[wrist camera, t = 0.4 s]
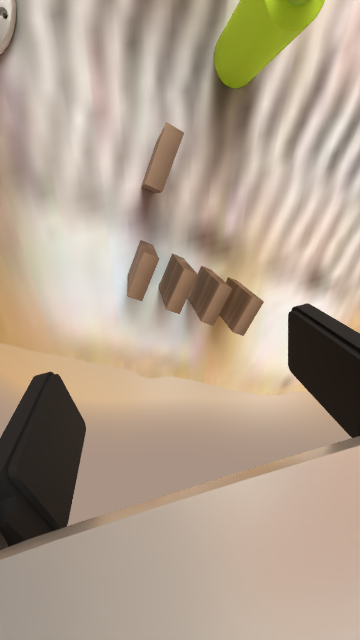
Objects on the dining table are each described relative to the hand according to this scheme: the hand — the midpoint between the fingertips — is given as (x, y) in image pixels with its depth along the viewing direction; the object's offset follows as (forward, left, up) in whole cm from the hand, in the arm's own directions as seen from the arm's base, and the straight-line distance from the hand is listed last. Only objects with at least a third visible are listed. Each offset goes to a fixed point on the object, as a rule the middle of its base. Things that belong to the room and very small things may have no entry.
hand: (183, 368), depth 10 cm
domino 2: (-2, +10, -33) cm, 35 cm away
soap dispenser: (+3, +25, -33) cm, 42 cm away
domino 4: (+12, -3, -33) cm, 35 cm away
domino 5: (+17, -3, -33) cm, 38 cm away
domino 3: (+6, -3, -33) cm, 34 cm away
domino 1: (+1, -3, -33) cm, 33 cm away
